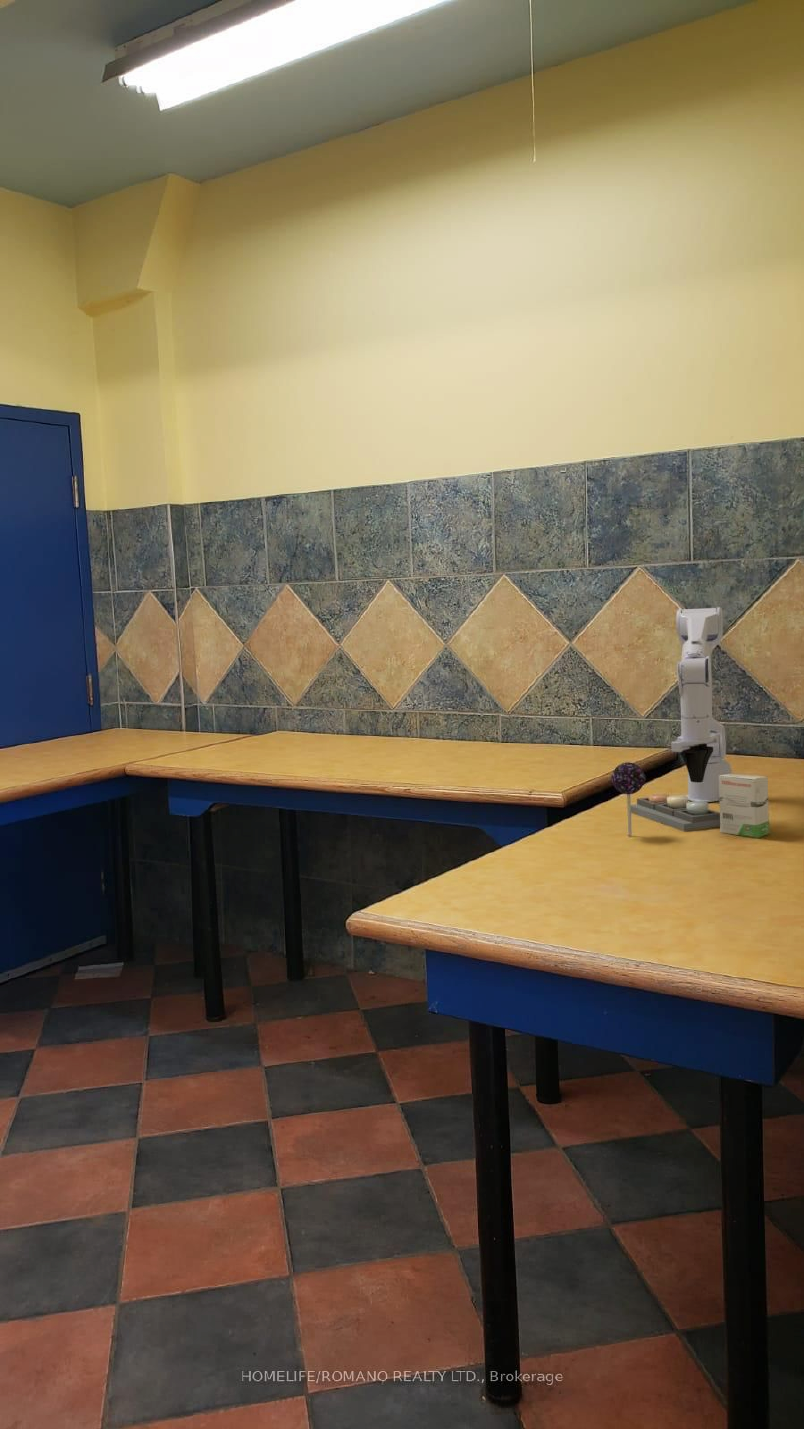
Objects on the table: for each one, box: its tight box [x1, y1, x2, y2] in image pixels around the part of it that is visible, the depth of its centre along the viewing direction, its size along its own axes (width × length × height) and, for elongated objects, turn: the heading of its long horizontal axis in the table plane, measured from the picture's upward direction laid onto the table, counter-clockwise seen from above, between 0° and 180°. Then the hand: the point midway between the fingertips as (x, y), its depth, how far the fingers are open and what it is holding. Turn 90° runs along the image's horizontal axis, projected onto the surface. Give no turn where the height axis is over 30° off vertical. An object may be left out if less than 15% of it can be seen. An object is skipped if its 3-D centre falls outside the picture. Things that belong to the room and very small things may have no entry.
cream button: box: [667, 794, 689, 808], centre depth 231 cm, size 4×4×2 cm
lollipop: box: [610, 761, 647, 837], centre depth 218 cm, size 7×7×15 cm
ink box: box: [718, 772, 771, 839], centre depth 215 cm, size 9×5×12 cm, turn 39°
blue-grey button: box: [686, 801, 710, 814], centre depth 224 cm, size 4×4×2 cm
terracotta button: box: [648, 793, 670, 803], centre depth 239 cm, size 4×4×2 cm
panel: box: [631, 796, 720, 832], centre depth 232 cm, size 11×22×3 cm, turn 18°
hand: (696, 781), depth 224 cm, fingers closed
